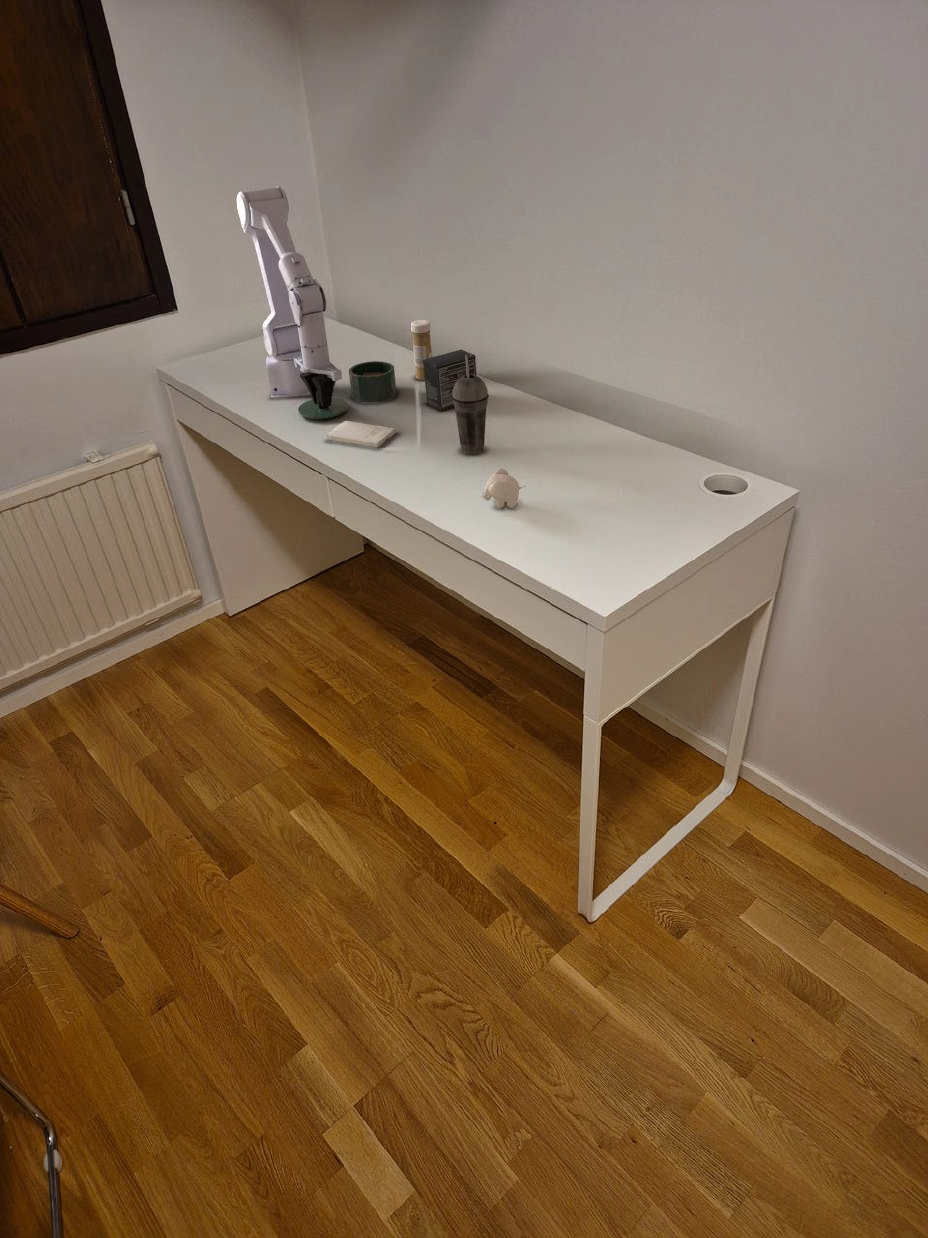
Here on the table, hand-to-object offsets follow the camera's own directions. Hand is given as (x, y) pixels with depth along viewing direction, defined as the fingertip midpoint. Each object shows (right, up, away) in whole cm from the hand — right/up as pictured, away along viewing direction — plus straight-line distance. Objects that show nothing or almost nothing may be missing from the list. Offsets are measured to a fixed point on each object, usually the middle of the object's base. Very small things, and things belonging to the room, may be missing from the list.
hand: (322, 404), depth 193 cm
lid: (0, -1, +1) cm, 1 cm away
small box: (+29, +1, +5) cm, 29 cm away
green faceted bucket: (+11, +4, +10) cm, 15 cm away
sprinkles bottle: (+22, +11, +18) cm, 31 cm away
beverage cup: (+33, -14, -17) cm, 40 cm away
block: (+11, +5, +9) cm, 15 cm away
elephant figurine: (+39, -28, -37) cm, 60 cm away
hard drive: (+10, -10, -10) cm, 17 cm away
